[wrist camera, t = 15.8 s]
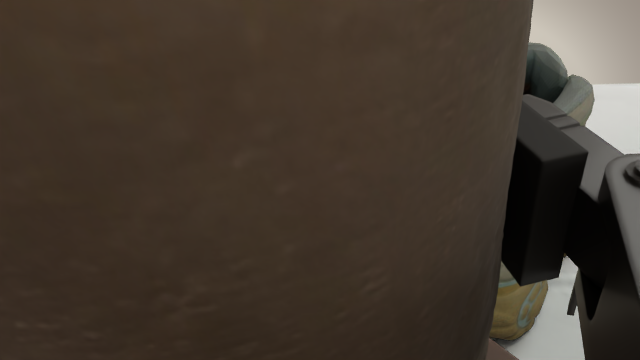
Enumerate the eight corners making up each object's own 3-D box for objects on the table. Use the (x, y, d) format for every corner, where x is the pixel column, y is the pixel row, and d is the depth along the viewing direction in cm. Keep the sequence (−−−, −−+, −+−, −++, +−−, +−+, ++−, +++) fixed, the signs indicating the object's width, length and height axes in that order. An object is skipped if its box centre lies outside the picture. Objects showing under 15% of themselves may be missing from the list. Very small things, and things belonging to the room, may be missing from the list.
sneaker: (646, 196, 37) (685, -16, 29) (520, 383, 26) (528, 134, 18) (506, 161, 44) (507, -16, 36) (365, 297, 34) (323, 92, 26)
